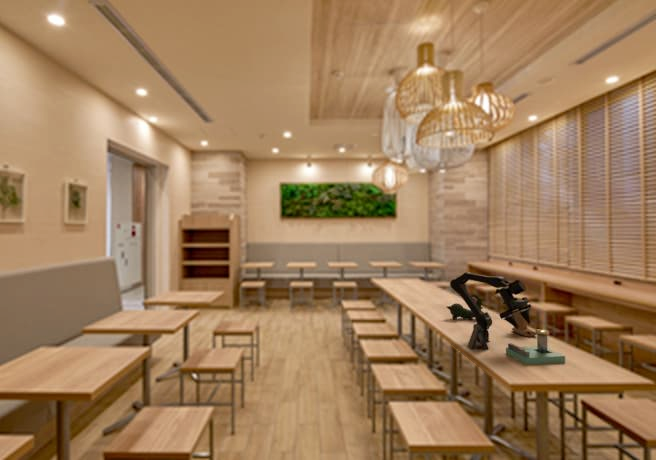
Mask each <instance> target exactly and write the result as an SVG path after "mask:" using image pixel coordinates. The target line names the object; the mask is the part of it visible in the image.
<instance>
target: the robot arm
mask: <svg viewBox="0 0 656 460" xmlns="http://www.w3.org/2000/svg"><path fill="white" fill-rule="evenodd" d="M469 281H473V282H478V283H484V284H488V285H490V286H492V287H494V288H496V289H495V292H494V294H495V295H497V294H499V296H500V297H501V299H502V301H503V302H502V303H503V305H505V306H506V308H507V309H506V310H505V311H503V312H500V313H499V317H500V319H501V320H502V319H503V320H504V321H506V322H508V323H509V324H511V325H512V326H513V328H514V327H515V328H517V329H518V328H519V327H518V325H517V323H516V321H515V319H514V315H512V314H513V313H515V312H518V311H521V312H520V314H521V315H522V317H523V318H524V319H525V320H526V322H527V325H530V324H531V319H530V310H531V308H532V305H531V303H530V301H529V299H528V297H526V296H523V297H522V298H521V299H519V298H517V297H515V296H517V295H519V294H521V293H524V292H526V291H527V287H526V284H525V283H523V281H521V280H520V279H516V280H514V281H513V282H511V281H509V280H507V279H506V278H505V277H504V276H501V275H500V276H498V275H497V276H495V275H494V276H489V275H483V274H479V273H473V272H470V271H468V272H464V273H463V274H461V275H459V276H458V277H456V278H453V279H452V280H450V283H449V286H450V288H451V289H452V290H453V291H454V292H456V293H457V294H459V295H460V297H461V299H462V300H463V302H464V303H465V304H466V305H467V307H468V308H469V310H471V311H472V312H473V314H474V315H475V317H474V318H475V322H476V323H475V324H476V325H477V324H478V325H479V326H481V327H482V328H483V335H484V337H485V340H486V343H487V342H489V343H490V334H489V329H490V327H491V326H492V325H493V320H492V317H491V316H490V314H489V313H488V312H487V311H485V312H483V310H482V309H480V308H479V306H478V305H477V304H476V302H477V301H475V300H474V297H471V295H472V294H470V293H469V291H468V289H467V285H466V283H468V282H469ZM514 295H515V296H514ZM516 309H517V310H516ZM513 310H514V311H513ZM478 325H477V326H478ZM478 342H479V343H480V340H479V336H478V339H477V343H478Z"/></svg>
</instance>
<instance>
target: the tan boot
mask: <svg viewBox="0 0 656 460" xmlns="http://www.w3.org/2000/svg"><path fill="white" fill-rule="evenodd" d="M516 310H517V309H516ZM513 311H514V310H513ZM520 312H521V311H518V312H515V313H513V314H512V315H514V319H515V321H516V323H517V325H518V327H519V328H518V329H517V328H515V327H514V326H513V327H512V328H511V330H512V331H513V332H514V333H517V334H519V335H522V336H524V337H534V336H537V333H536V332H535V331H533V330H532V329H530V328H528V323H527V322H526V320H525V319H524V318H523V317H522V315H521V314H520Z"/></svg>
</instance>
